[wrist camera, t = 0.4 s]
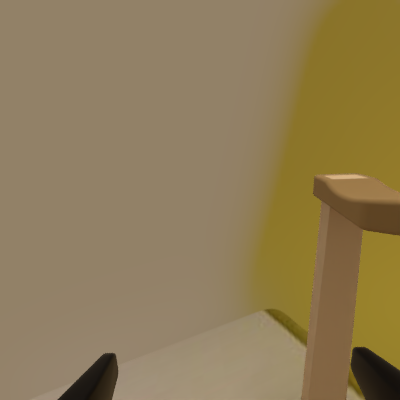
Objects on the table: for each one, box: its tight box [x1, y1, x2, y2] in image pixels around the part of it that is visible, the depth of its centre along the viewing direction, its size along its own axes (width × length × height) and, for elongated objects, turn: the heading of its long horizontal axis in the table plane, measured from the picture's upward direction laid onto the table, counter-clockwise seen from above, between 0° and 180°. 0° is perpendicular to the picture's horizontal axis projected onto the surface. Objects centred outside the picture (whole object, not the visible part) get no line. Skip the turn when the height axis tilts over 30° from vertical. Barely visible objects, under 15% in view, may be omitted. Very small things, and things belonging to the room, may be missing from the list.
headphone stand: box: [301, 173, 400, 400], centre depth 12 cm, size 10×11×22 cm
